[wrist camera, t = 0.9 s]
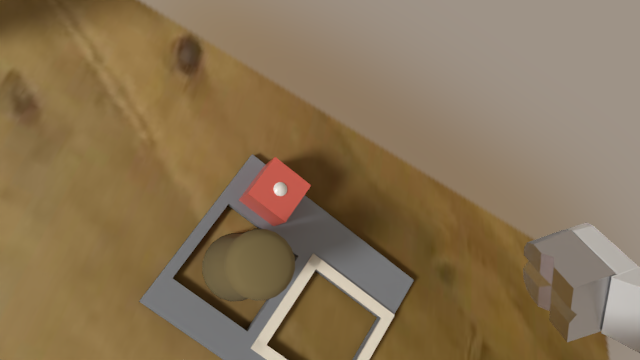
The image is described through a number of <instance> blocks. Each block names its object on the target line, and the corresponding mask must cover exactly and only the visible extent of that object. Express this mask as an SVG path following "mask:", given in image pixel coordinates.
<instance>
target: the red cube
mask: <svg viewBox="0 0 640 360" xmlns="http://www.w3.org/2000/svg"><path fill="white" fill-rule="evenodd" d="M310 186H311V185H310V184H309V183H308V182H306V181H305V180H304V179H302V178H301V177H300V176H299V175H297V174H296V173H295V172H294V171H292V170H291V169H290V168H288V167H287V166H286V165H285V164H283V163H282V162H281V161H280V160H278V159H277V158H276V157H274V158H273V159H272V160H271V161H269V162H268V163H267V164H266V165H265V166H264V167H263V168H262V169H261V171H260V172H259V173H258V175H257V176H256V177H255V179H254V180H253V181H252V183H251V184H250V185H249V187H248V188H247V189H246V191H245V192H244V193H243V195H242V196H241V197H240V199H239V201H241V202H242V203H243V204H245V205H246V206H247V207H249V208H250V209H251V210H252V211H254V212H255V213H256V214H258V215H259V216H260V217H262V218H263V219H264V220H266V221H267V222H268V223H270V224H271V225H272V226H276V225H279V224H282V223H285V222H286V221H287V219H288V218H289V216H290V215H291V214H292V212H293V211H294V209H295V208H296V206H297V205H298V204H299V202H300V201H301V199H302V198H303V196H304V195H305V194H306V192H307V191H308V189H309V188H310Z"/></svg>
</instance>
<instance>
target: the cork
mask: <svg viewBox="0 0 640 360" xmlns="http://www.w3.org/2000/svg"><path fill="white" fill-rule="evenodd" d="M294 271H295V257H294V254H293V251H292V248H291V247H290V245H289V244H288V242H287V241H286V240H285V239H284V238H283V237H281V236H280V235H279V234H277V233H276V232H273V231H270V230H267V229H254V230H251V231H248V232H245V233H243V234H228V235H225V236H222V237H220V238H219V239H217V240H216V241H215V242H213V243H212V244H211V246H210V247H209V249H208V250H207V251H206V254H205V257H204V260H203V272H202V273H203V276H204V279H205V283H206V284H207V286H208V287H209V289H210V290H211V291H212V292H213V293H214V294H215V295H217V296H218V297H220V298H222V299H225V300H228V301H242V300H245V299H248V298H249V299H252V300H268V299H271V298H273V297H276V296H278V295H279V294H280V293H281V292H282V291H284V290H285V289H286V288H287V286H288V285H289V283H290V281H291V280H292V278H293V274H294Z"/></svg>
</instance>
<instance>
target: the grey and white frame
mask: <svg viewBox="0 0 640 360" xmlns="http://www.w3.org/2000/svg"><path fill="white" fill-rule="evenodd" d="M264 166H265V164H264V163H263V162H262V161H260V160H259V159H258V158H256V157H255V156H254V155H253V154H252V155H251V156H250V158H249V159H248V160H247V161H246V163H245V164H244V165H243V167H242V168H241V169H240V171H239V172H238V173H237V174H236V176H235V177H234V178H233V180H232V181H231V182H230V184H229V185H228V186H227V187H226V189H225V190H224V191H223V193H222V194H221V195H220V197H219V198H218V199H217V200H216V202H215V203H214V204H213V206H212V207H211V208H210V210H209V211H208V212H207V214H206V215H205V216H204V217H203V219H202V220H201V221H200V223H199V224H198V225H197V227H196V228H195V229H194V230H193V232H192V233H191V234H190V236H189V237H188V238H187V240H186V241H185V242H184V243H183V245H182V246H181V247H180V249H179V250H178V251H177V253H176V254H175V255H174V257H173V258H172V259H171V260H170V262H169V263H168V264H167V266H166V267H165V268H164V270H163V271H162V272H161V273H160V275H159V276H158V277H157V279H156V280H155V281H154V283H153V284H152V285H151V286H150V288H149V289H148V290H147V292H146V293H145V294H144V296H143V297H142V298H141V299H140V301H139V302H141V303H142V304H144V305H145V306H146V307H148V308H149V309H151V310H152V311H154V312H155V313H157V314H158V315H159V316H161V317H162V318H164V319H165V320H167V321H168V322H170V323H171V324H173V325H174V326H175V327H177V328H178V329H180V330H181V331H183V332H184V333H186V334H187V335H188V336H190V337H191V338H193V339H194V340H196V341H197V342H199V343H200V344H201V345H203V346H204V347H206V348H207V349H209V350H210V351H212V352H213V353H214V354H216V355H217V356H219V357H220V358H222V359H223V360H287V359H286V358H284V357H283V356H282V355H280V354H279V353H277V352H276V351H274V350H273V349H272V348H270V347H269V346H267V343H268V342H269V340H270V339H271V337H272V336H273V334H274V333H275V331H276V330H277V328H278V327H279V325H280V323H281V322H282V320H283V319H284V317H285V316H286V314H287V313H288V311H289V310H290V308H291V307H292V305H293V304H294V302H295V301H296V299H297V297H298V296H299V294H300V293H301V291H302V290H303V288H304V287H305V285H306V284H307V282H308V281H309V279H310V278H311V276H312V274H313V273H314V271H316V272H317V273H319V274H320V275H321V276H323V277H324V278H325V279H327V280H328V281H329V282H331V283H332V284H333V285H335V286H336V287H337V288H339V289H340V290H341V291H343V292H344V293H345V294H347V295H348V296H349V297H351V298H352V299H353V300H355V301H356V302H357V303H359V304H360V305H361V306H363V307H364V308H365V309H367V310H368V311H369V312H371V313H372V314H373V315H375V316H376V317H377V319H376V320H375V322H374V324H373V325H372V327H371V329H370V331H369V332H368V334H367V336H366V337H365V339H364V341H363V343H362V344H361V346H360V348H359V349H358V351H357V353H356V354H355V356H354V358H353V360H369V359H370V358H371V356H372V354H373V352H374V351H375V349H376V347H377V345H378V344H379V342H380V340H381V338H382V337H383V335H384V333H385V331H386V330H387V328H388V326H389V325H390V323H391V321H392V319H393V318H394V316H395V315H394V314H395V312H396V311H397V309H398V307H399V305H400V304H401V302H402V300H403V298H404V297H405V295H406V293H407V291H408V290H409V288H410V286H411V284H412V283H413V281H414V280H413V279H412V278H411V277H409V276H408V275H407V274H405V273H404V272H403V271H402V270H400V269H399V268H398V267H396V266H395V265H394V264H393V263H391V262H390V261H389V260H387V259H386V258H385V257H384V256H382V255H381V254H380V253H378V252H377V251H376V250H375V249H373V248H372V247H371V246H369V245H368V244H367V243H366V242H364V241H363V240H362V239H360V238H359V237H358V236H357V235H355V234H354V233H353V232H351V231H350V230H349V229H348V228H346V227H345V226H344V225H342V224H341V223H340V222H339V221H337V220H336V219H335V218H333V217H332V216H331V215H330V214H328V213H327V212H326V211H324V210H323V209H322V208H321V207H319V206H318V205H317V204H315V203H314V202H313V201H312V200H310V199H309V198H308V197H307V196H305V195H304V196H303V198H302V199H301V201H300V202H299V204H298V205H297V206H296V208H295V209H294V211H293V212H292V214H291V215H290V216H289V218H288V219H287V221H286V222H285V223H282V224H279V225H276V226H272V225H271V224H270V223H268V222H267V221H266V220H264V219H263V218H262V217H260V216H259V215H258V214H256V213H255V212H254V211H252V210H251V209H250V208H249V207H247V206H246V205H245V204H243V203H242V202H241V201H239V199H240V197H241V196H242V195H243V193H244V192H245V191H246V189H247V188H248V187H249V185H250V184H251V183H252V181H253V180H254V179H255V177H256V176H257V175H258V173H259V172H260V171H261V169H262V168H263V167H264ZM227 205H228V206H230V207H231V208H232V209H234V210H235V211H236V212H238V213H239V214H240V215H242V216H243V217H244V218H246V219H247V220H248V221H250V222H251V223H252V224H254V225H255V226H256V227H258V228H259V229H267V230H270V231H273V232H276V233H277V234H279V235H280V236H281V237H283V238H284V239H285V240H286V241H287V242H288V244H289V245H290V247H291V248H292V251H293V254H294V255H295V256H296V257H295V271H294V274H293V278H292V280H291V281H290V283H289V285H288V286H287V288H286V289H285V290H284V291H282V292H281V293H280V294H279V295H278V296H276V297H273V298H271V299H268V300H266V302H265V303H264V305H263V306H262V308H261V309H260V311H259V312H258V314H257V315H256V317H255V318H254V320H253V321H252V323H251V324H250V326H249V327H248V329H247V330H245V329H243V328H242V327H240V326H239V325H238V324H236V323H235V322H233V321H232V320H231V319H229V318H228V317H226V316H225V315H224V314H222V313H221V312H219V311H218V310H216V309H215V308H214V307H212V306H211V305H209V304H208V303H207V302H205V301H204V300H202V299H201V298H200V297H198V296H197V295H195V294H194V293H192V292H191V291H190V290H188V289H187V288H185V287H184V286H183V285H181V284H180V283H178V282H177V281H176V280H174V279H173V277H174V275H175V274H176V273H177V271H178V270H179V269H180V267H181V266H182V265H183V263H184V262H185V261H186V260H187V258H188V257H189V256H190V254H191V253H192V252H193V250H194V249H195V248H196V246H197V245H198V244H199V242H200V241H201V240H202V238H203V237H204V236H205V234H206V233H207V232H208V230H209V229H210V228H211V226H212V225H213V224H214V222H215V221H216V220H217V219H218V217H219V216H220V215H221V213H222V212H223V211H224V209H225V208H226V207H227Z"/></svg>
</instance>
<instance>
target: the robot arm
mask: <svg viewBox="0 0 640 360" xmlns="http://www.w3.org/2000/svg"><path fill="white" fill-rule="evenodd" d="M524 256H525V257H526V258H527V259H528V260H529V261H528V263H527V264H526V266H525V267H524V268H523V272H524V282H525V285H526V288H527V290H528V292H529V294H530V296H531V297H532V299H533V300H534V301H535V303H536V304H537V305H538V306H539V307H542V308H544V309H546V310H549V311H550V317H549V320H550V322H551V323H552V324H553V325H554V327H555V328H556V329H557V330H558V332H559V333H560V334H561V335H562V337H563V338H564V339H565V340H566V342H569V341H572V340H575V339H578V338H581V337H584V336H588V335H591V334H594V333H597V332H600V331H602V333H603V334H605V335H607V336H608V337H610V338H612V339H614V340H616V341H618V342H620V343H622V344H623V345H625V346H627V347H629V348H631V349H633V350H635V351H637V352H639V353H640V266H638V265H636V264H635V263H634V262H633V261H632V260H631V259H630V258H629V257H627V256H626V255H625V254H624V253H623V252H622V251H621V250H620V249H619V248H618V247H616V246H615V245H614V244H613V243H612V242H611V241H610V240H609V239H607V238H606V237H605V236H604V235H603V234H602V233H601V232H600V231H598V230H597V229H596V228H595V227H594V226H593V225H592V224H590V223H587V222H586V223H583V224H580V225H577V226H574V227H571V228H569V229H566V230H561V231H559V232H556V233H553V234H550V235H547V236H544V237H542V238H539V239H536V240H533V241H530V242H527V244H526V245H525V247H524Z"/></svg>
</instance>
